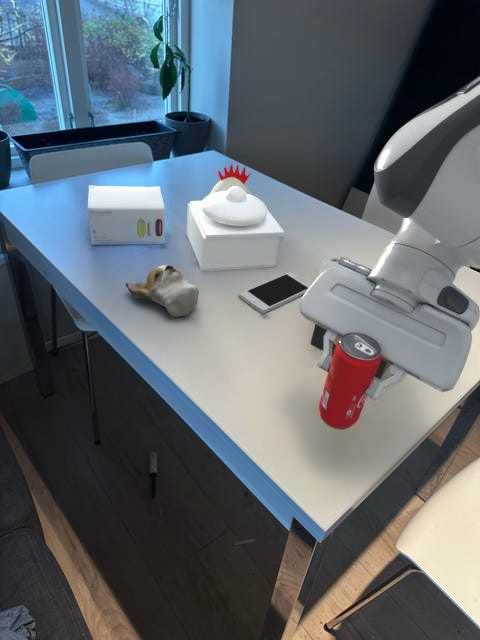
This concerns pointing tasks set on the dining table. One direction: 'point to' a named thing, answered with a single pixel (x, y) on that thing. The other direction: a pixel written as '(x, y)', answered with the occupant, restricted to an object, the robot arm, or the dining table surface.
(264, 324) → the dining table surface
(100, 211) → the supplement box
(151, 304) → the dining table surface
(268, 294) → the smartphone
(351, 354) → the beverage can
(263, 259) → the butter dish
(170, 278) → the ceramic sculpture
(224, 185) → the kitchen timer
